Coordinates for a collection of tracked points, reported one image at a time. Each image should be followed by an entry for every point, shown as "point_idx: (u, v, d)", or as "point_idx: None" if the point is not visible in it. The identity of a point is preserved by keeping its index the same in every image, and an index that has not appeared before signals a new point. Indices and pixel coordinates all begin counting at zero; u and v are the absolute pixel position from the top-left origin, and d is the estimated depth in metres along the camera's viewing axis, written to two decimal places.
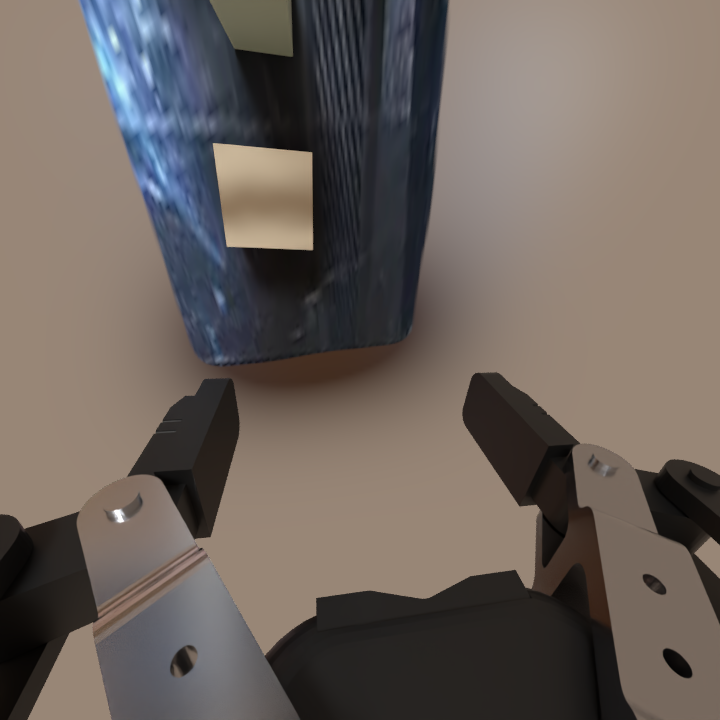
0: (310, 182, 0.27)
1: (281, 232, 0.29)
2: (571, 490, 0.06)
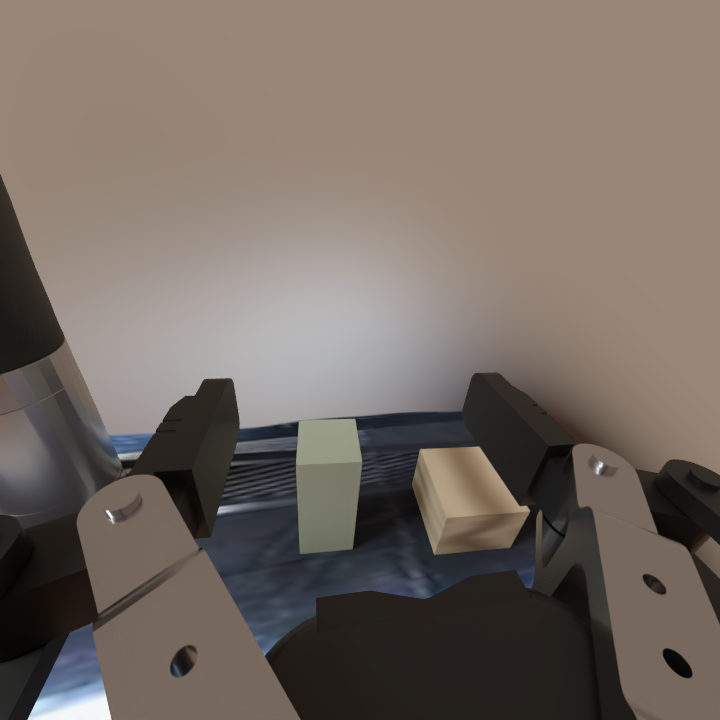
0: (440, 449, 0.34)
1: (488, 467, 0.32)
2: (571, 490, 0.06)
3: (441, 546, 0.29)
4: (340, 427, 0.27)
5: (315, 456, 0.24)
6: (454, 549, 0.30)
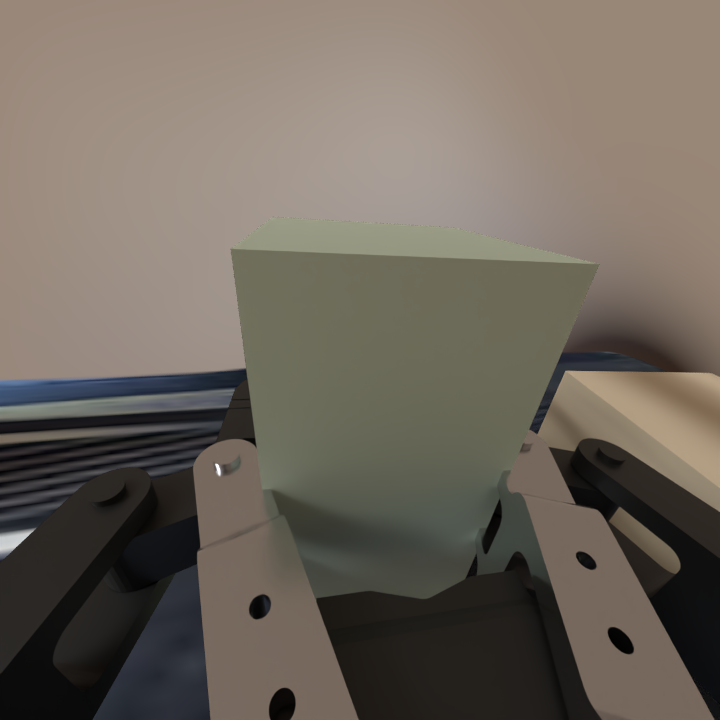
0: (610, 373, 0.15)
1: None
2: None
3: None
4: (419, 229, 0.08)
5: (345, 244, 0.04)
6: None
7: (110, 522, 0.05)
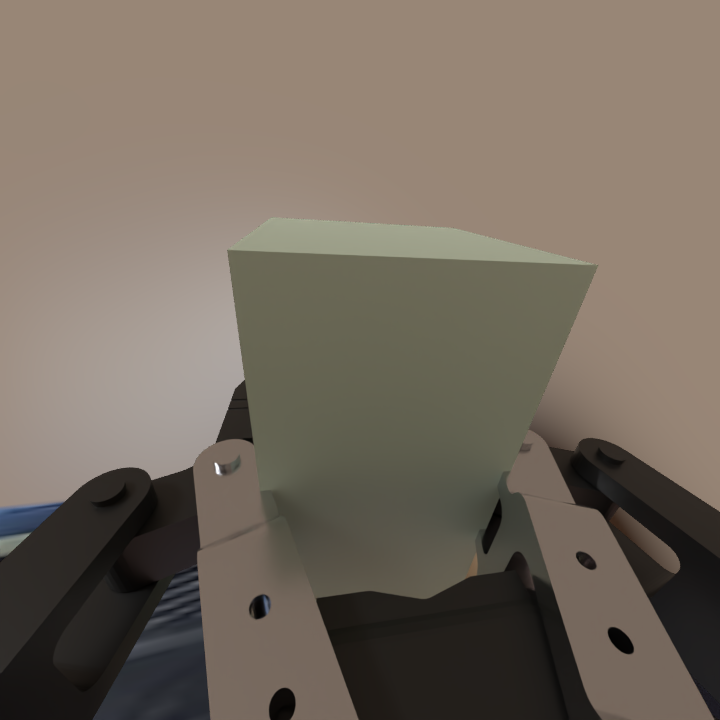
0: None
1: None
2: None
3: None
4: (418, 229, 0.08)
5: (343, 246, 0.04)
6: None
7: (110, 522, 0.05)
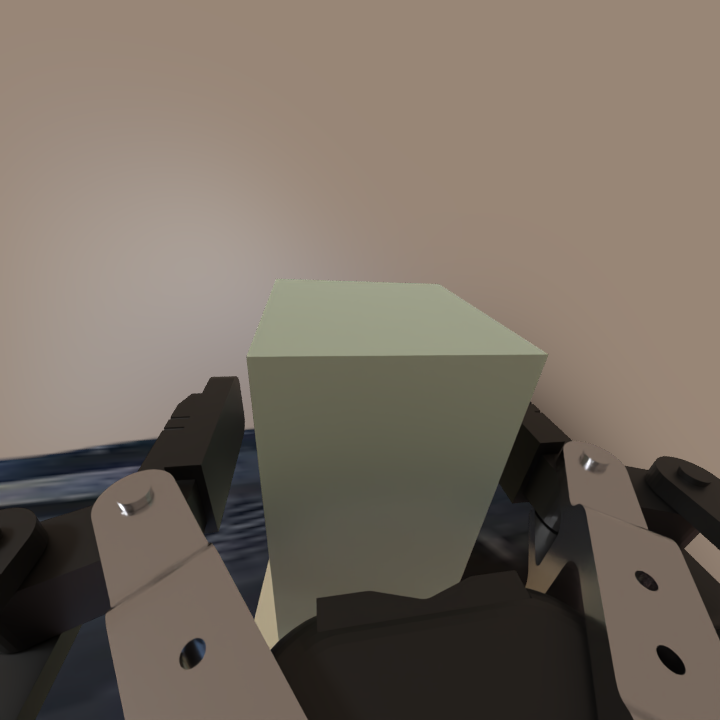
0: None
1: None
2: (563, 488, 0.06)
3: None
4: (406, 292, 0.08)
5: (339, 337, 0.05)
6: None
7: None
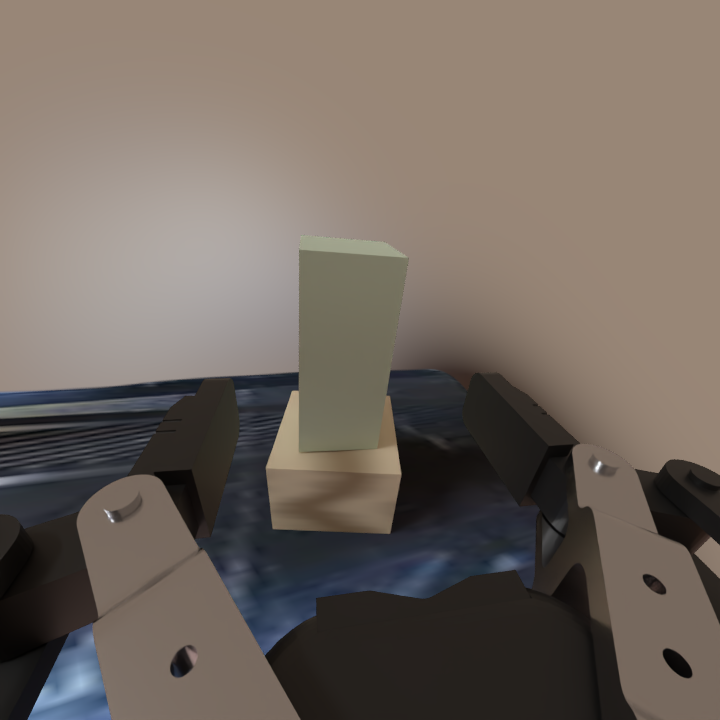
0: None
1: None
2: (571, 490, 0.06)
3: (278, 516, 0.20)
4: (365, 242, 0.17)
5: (330, 249, 0.14)
6: (300, 524, 0.20)
7: None
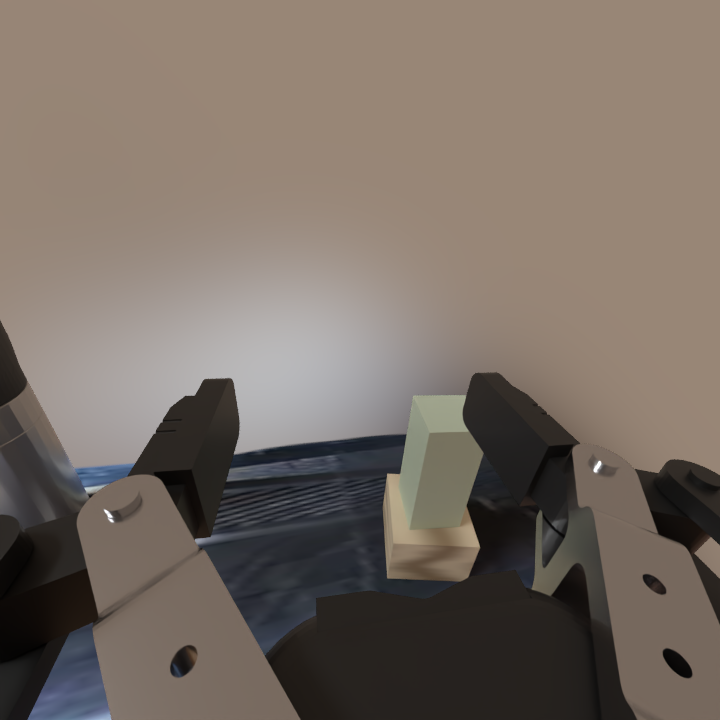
0: None
1: None
2: (571, 490, 0.06)
3: (393, 571, 0.30)
4: (455, 402, 0.27)
5: (444, 426, 0.24)
6: (406, 575, 0.30)
7: None
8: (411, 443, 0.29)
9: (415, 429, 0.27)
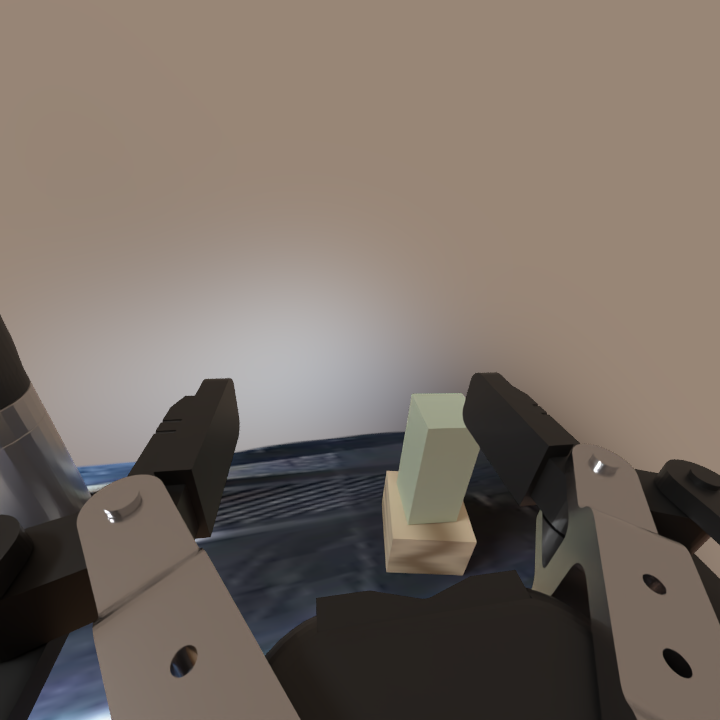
0: None
1: None
2: (571, 490, 0.06)
3: (392, 565, 0.31)
4: (452, 399, 0.28)
5: (442, 422, 0.25)
6: (405, 569, 0.31)
7: None
8: (409, 440, 0.29)
9: (414, 426, 0.28)
